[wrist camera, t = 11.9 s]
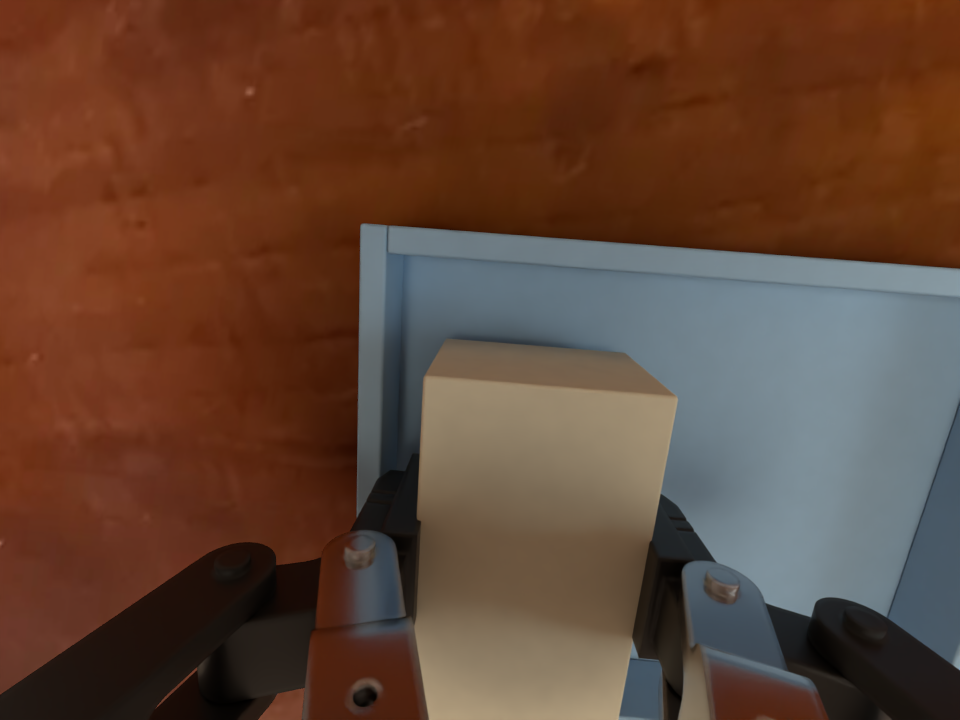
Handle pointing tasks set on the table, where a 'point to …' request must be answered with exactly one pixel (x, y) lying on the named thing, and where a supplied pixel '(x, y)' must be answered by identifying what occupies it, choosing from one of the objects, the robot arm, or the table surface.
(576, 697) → the pad
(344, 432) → the table surface
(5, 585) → the table surface
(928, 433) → the blue tray
